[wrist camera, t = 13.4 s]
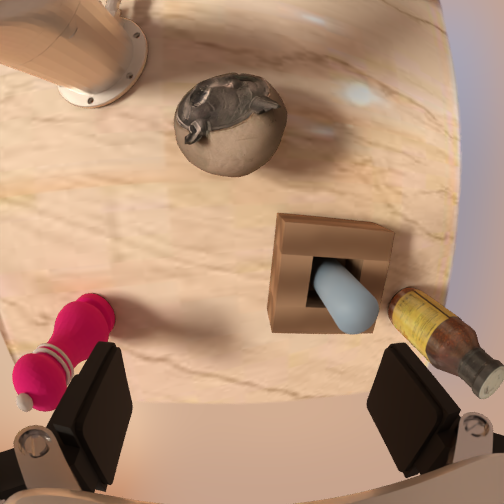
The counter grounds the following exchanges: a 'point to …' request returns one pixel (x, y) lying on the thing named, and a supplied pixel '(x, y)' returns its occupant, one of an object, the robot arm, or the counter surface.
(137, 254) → the counter surface
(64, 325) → the pepper mill
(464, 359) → the sauce bottle
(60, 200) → the counter surface
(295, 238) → the socket block
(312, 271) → the peg
